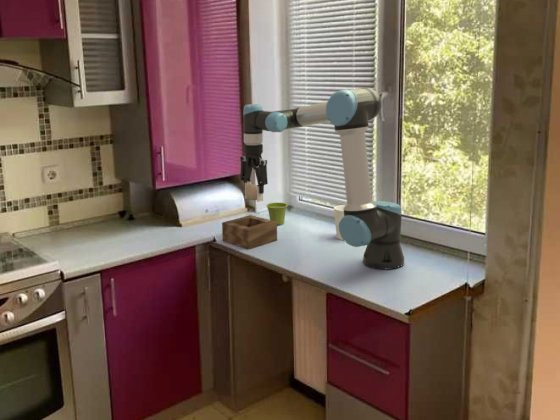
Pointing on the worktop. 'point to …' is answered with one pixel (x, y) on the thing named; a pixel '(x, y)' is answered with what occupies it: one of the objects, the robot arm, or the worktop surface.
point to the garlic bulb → (251, 191)
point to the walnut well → (249, 231)
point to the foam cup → (338, 218)
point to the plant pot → (277, 212)
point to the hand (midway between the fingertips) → (254, 199)
